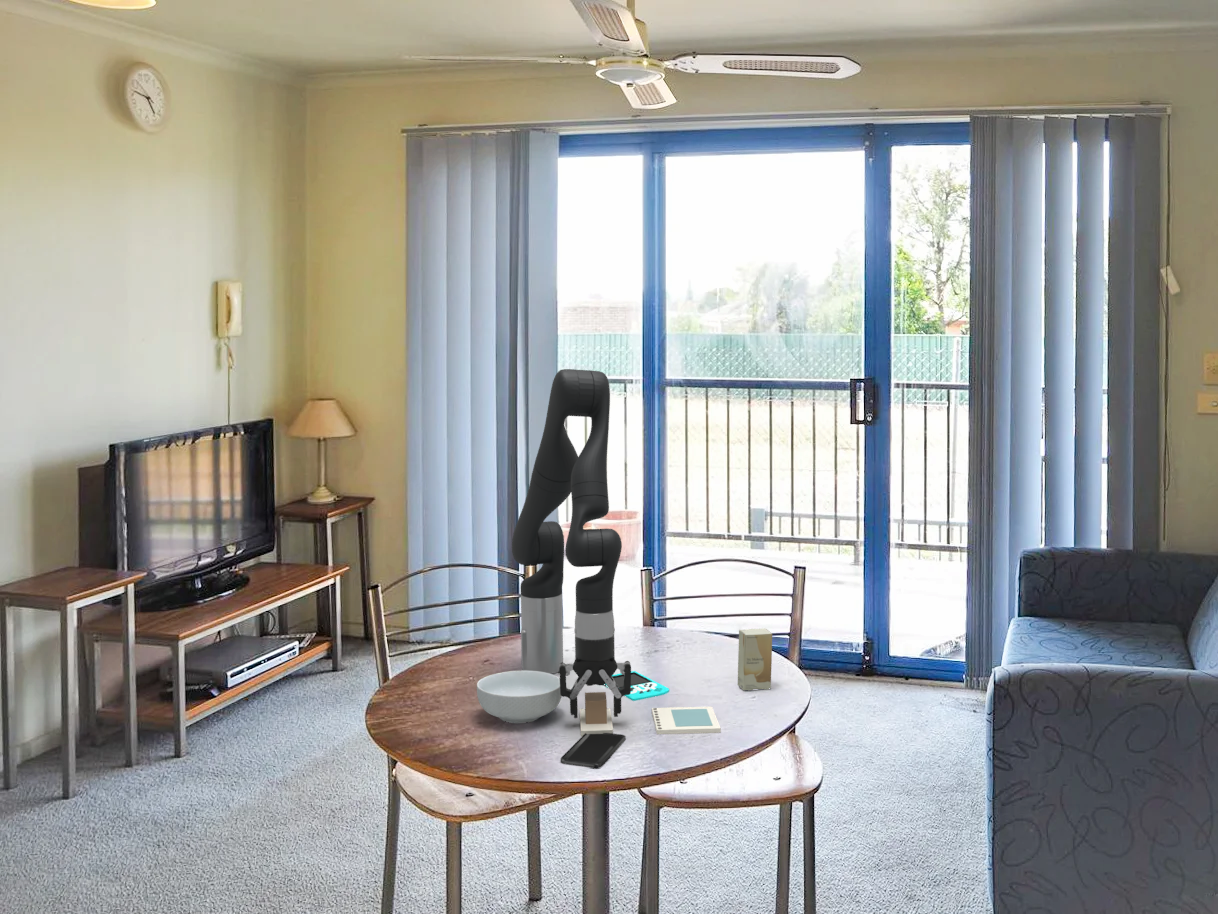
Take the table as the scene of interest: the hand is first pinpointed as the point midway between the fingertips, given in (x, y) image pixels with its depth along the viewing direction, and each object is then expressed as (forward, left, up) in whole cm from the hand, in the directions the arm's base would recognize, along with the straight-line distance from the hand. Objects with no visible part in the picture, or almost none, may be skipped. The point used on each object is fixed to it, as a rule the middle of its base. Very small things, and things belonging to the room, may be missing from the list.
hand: (595, 716), depth 214 cm
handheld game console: (+9, +22, -3) cm, 24 cm away
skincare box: (+34, +20, -2) cm, 40 cm away
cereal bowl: (-15, +6, -2) cm, 16 cm away
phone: (-1, -13, -2) cm, 13 cm away
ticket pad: (+17, 0, -2) cm, 17 cm away
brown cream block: (0, 0, -2) cm, 2 cm away
